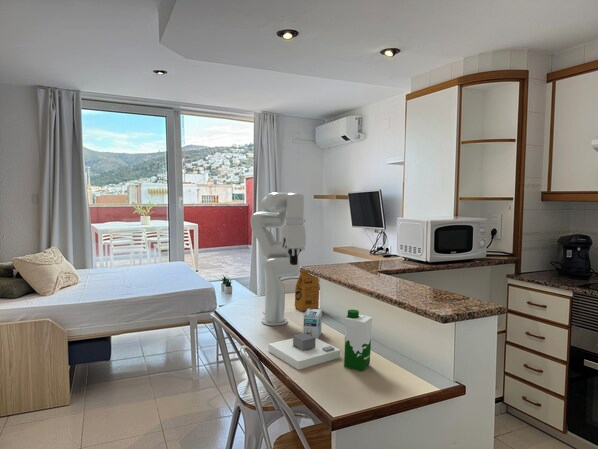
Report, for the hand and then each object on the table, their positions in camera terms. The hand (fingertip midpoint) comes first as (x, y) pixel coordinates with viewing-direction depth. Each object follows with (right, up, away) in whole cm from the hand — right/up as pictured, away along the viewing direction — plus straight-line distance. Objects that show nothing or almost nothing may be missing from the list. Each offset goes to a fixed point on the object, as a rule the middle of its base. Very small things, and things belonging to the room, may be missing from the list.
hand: (293, 264), depth 169 cm
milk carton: (+23, -35, -26) cm, 49 cm away
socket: (+4, -33, -17) cm, 37 cm away
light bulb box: (+8, -32, +5) cm, 34 cm away
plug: (+4, -33, -17) cm, 37 cm away
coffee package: (+6, -30, +48) cm, 57 cm away
